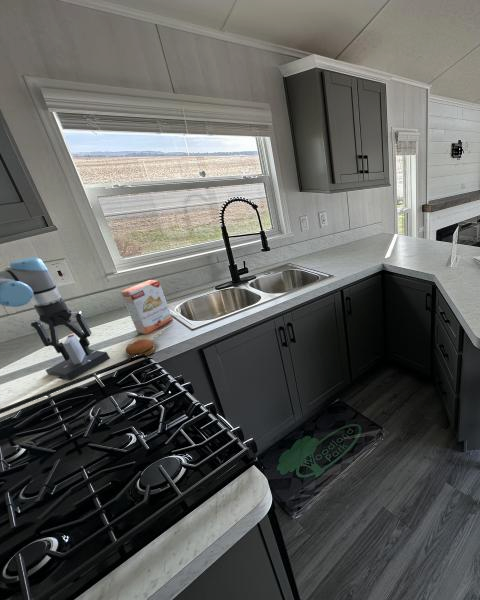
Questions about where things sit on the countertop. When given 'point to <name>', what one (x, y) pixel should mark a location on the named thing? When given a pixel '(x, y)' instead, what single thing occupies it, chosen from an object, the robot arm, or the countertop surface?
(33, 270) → the robot arm
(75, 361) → the tap handle
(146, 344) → the burger
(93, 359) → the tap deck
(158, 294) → the cracker box
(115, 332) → the countertop surface
